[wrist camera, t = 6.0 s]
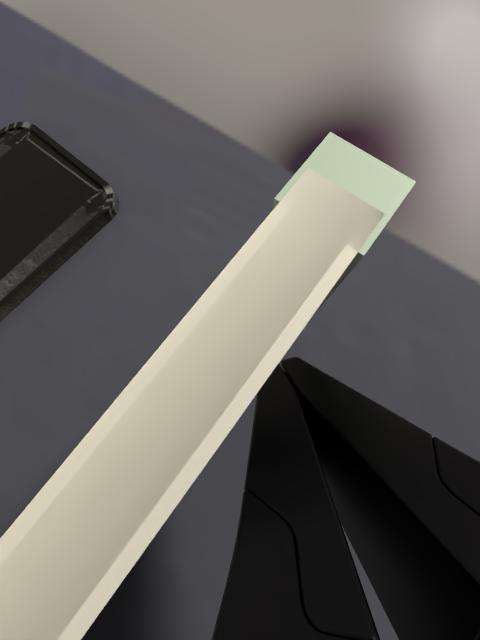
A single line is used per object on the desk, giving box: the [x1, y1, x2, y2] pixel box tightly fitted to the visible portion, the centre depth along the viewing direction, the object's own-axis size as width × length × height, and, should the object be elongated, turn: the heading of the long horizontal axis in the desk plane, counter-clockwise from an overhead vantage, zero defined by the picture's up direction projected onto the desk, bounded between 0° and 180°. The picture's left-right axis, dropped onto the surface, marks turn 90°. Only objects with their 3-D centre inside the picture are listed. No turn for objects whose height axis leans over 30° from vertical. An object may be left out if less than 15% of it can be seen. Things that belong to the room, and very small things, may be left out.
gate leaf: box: [0, 132, 416, 640], centre depth 8 cm, size 15×2×9 cm, turn 143°
